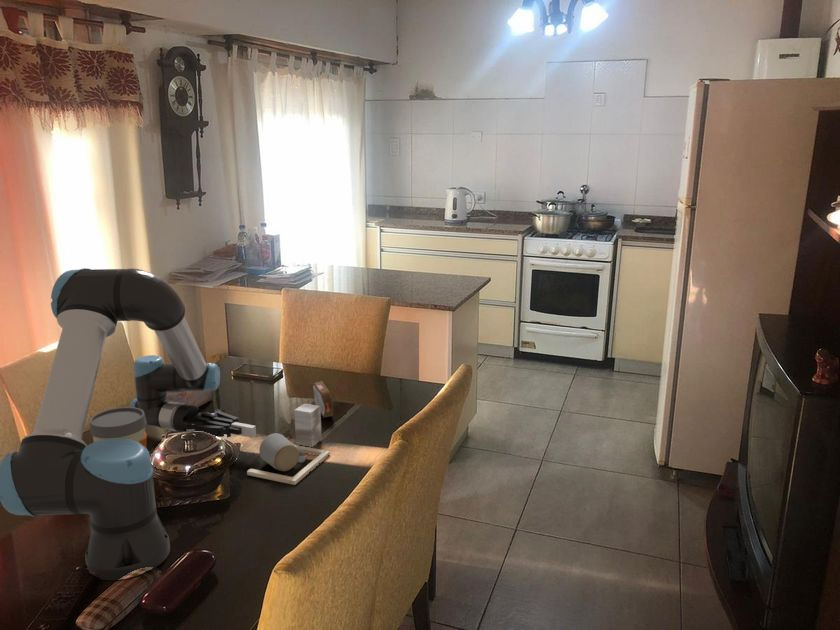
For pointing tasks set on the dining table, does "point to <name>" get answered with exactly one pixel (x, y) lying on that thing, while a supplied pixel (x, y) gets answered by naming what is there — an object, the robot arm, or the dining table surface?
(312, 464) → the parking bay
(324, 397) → the tin
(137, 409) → the reusable coffee cup
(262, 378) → the dining table surface
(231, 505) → the dining table surface
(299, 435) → the grey block
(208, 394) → the food item
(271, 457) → the ceramic mug
